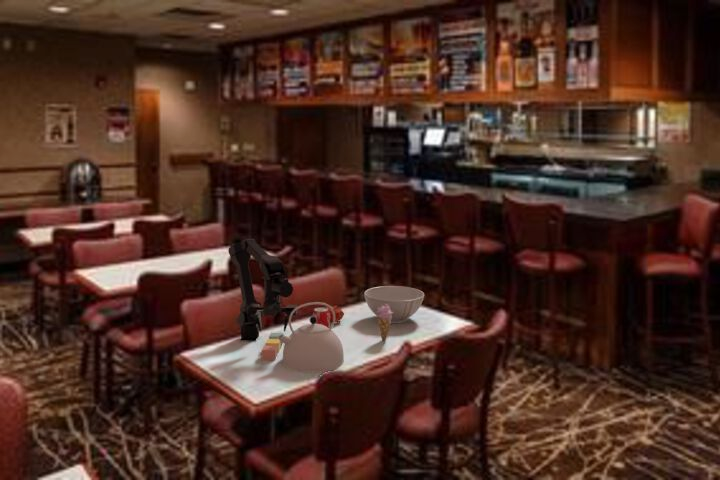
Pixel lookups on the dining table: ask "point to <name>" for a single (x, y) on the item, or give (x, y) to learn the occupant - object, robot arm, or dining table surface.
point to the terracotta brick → (269, 353)
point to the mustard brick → (274, 343)
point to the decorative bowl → (395, 301)
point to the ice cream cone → (384, 320)
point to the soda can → (322, 316)
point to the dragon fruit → (338, 314)
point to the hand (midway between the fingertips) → (272, 331)
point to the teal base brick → (275, 336)
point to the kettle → (312, 346)
